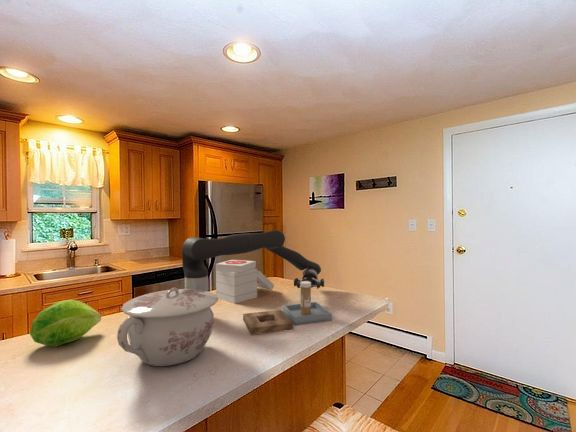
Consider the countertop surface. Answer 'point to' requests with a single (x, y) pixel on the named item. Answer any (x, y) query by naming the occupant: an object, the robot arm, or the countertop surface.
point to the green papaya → (63, 322)
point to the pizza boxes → (239, 280)
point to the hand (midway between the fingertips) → (308, 286)
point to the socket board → (260, 327)
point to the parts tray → (297, 318)
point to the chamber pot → (167, 325)
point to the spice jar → (305, 297)
